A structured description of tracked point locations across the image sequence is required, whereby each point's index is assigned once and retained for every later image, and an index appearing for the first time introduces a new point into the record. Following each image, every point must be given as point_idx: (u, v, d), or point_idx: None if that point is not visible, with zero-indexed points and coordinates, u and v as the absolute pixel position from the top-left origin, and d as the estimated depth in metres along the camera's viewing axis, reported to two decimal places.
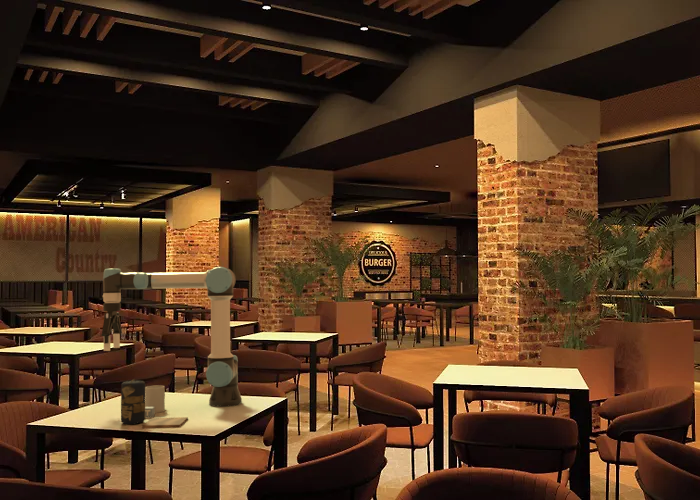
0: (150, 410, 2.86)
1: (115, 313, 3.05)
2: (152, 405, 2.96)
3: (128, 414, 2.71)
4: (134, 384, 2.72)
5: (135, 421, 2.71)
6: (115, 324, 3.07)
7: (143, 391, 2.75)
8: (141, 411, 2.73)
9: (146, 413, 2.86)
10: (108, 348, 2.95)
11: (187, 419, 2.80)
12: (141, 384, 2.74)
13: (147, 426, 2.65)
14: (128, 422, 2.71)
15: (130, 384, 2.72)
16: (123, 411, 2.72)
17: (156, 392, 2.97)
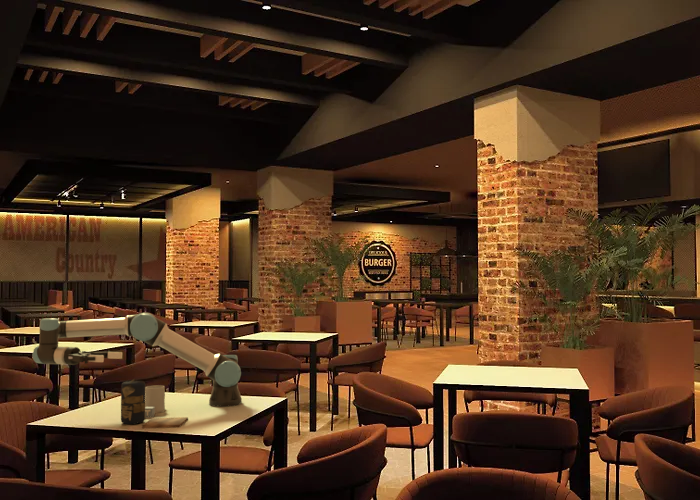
0: (150, 410, 2.86)
1: (81, 353, 2.84)
2: (152, 405, 2.96)
3: (128, 414, 2.71)
4: (134, 384, 2.72)
5: (135, 421, 2.71)
6: (94, 354, 2.85)
7: (143, 391, 2.75)
8: (141, 411, 2.73)
9: (146, 413, 2.86)
10: (100, 357, 2.72)
11: (187, 419, 2.80)
12: (141, 384, 2.74)
13: (147, 426, 2.65)
14: (128, 422, 2.71)
15: (130, 384, 2.72)
16: (123, 411, 2.72)
17: (156, 392, 2.97)
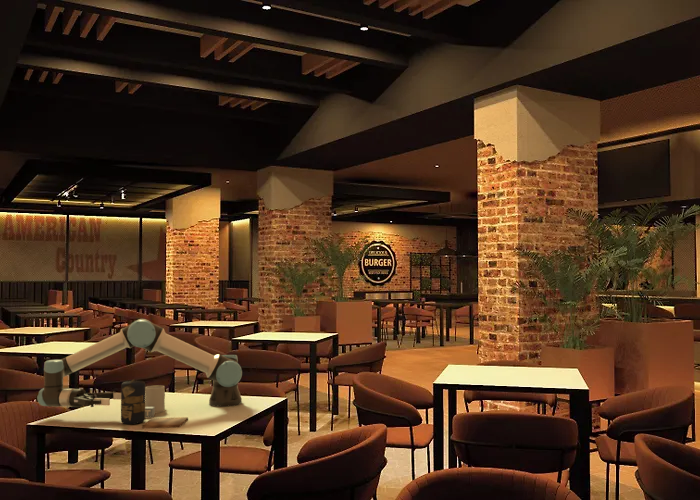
0: (150, 410, 2.86)
1: (86, 394, 2.82)
2: (152, 405, 2.96)
3: (128, 414, 2.71)
4: (134, 384, 2.72)
5: (135, 421, 2.71)
6: (100, 395, 2.83)
7: (143, 391, 2.75)
8: (141, 411, 2.73)
9: (146, 413, 2.86)
10: (106, 400, 2.70)
11: (187, 419, 2.80)
12: (141, 384, 2.74)
13: (147, 426, 2.65)
14: (128, 422, 2.71)
15: (130, 384, 2.72)
16: (123, 411, 2.72)
17: (156, 392, 2.97)
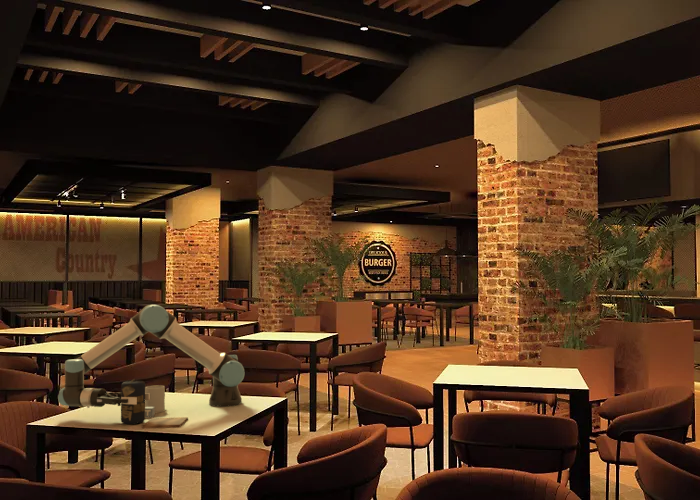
0: (150, 410, 2.86)
1: None
2: (152, 405, 2.96)
3: (128, 414, 2.71)
4: (134, 384, 2.72)
5: (135, 421, 2.71)
6: None
7: (143, 391, 2.75)
8: (141, 411, 2.73)
9: (146, 413, 2.86)
10: (133, 399, 2.70)
11: (187, 419, 2.80)
12: (141, 384, 2.74)
13: (147, 426, 2.65)
14: (128, 422, 2.71)
15: (130, 384, 2.72)
16: (123, 411, 2.72)
17: (156, 392, 2.97)
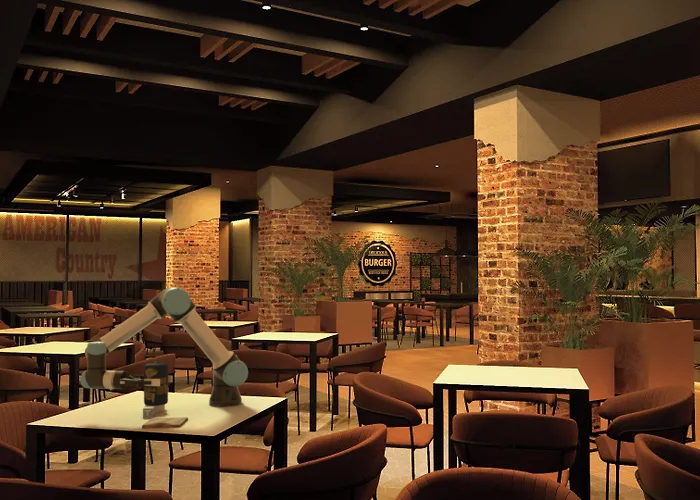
0: (150, 410, 2.86)
1: None
2: None
3: (151, 396, 2.69)
4: (157, 366, 2.70)
5: (158, 403, 2.69)
6: (143, 378, 2.78)
7: (166, 373, 2.73)
8: (164, 393, 2.71)
9: (146, 413, 2.86)
10: (156, 380, 2.68)
11: (187, 419, 2.80)
12: (164, 366, 2.72)
13: (147, 426, 2.65)
14: (151, 404, 2.69)
15: (153, 366, 2.70)
16: (146, 393, 2.70)
17: None
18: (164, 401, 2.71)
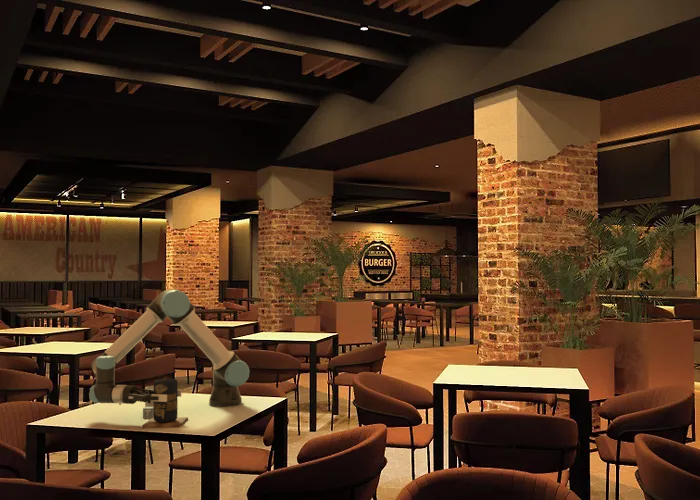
0: (150, 410, 2.86)
1: None
2: (152, 405, 2.96)
3: (161, 412, 2.68)
4: (167, 382, 2.70)
5: (168, 419, 2.69)
6: (153, 392, 2.78)
7: (176, 389, 2.73)
8: (174, 409, 2.71)
9: (146, 413, 2.86)
10: (163, 396, 2.66)
11: (187, 419, 2.80)
12: (174, 382, 2.72)
13: (147, 426, 2.65)
14: (161, 420, 2.68)
15: (163, 382, 2.69)
16: (156, 409, 2.69)
17: None
18: (174, 417, 2.71)
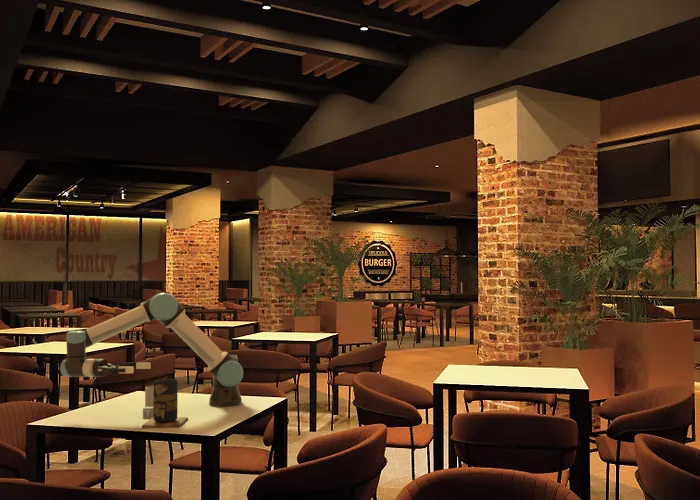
0: (150, 410, 2.86)
1: None
2: (152, 405, 2.96)
3: (161, 412, 2.68)
4: (167, 382, 2.70)
5: (168, 419, 2.69)
6: (123, 365, 2.84)
7: (176, 389, 2.72)
8: (174, 409, 2.71)
9: (146, 413, 2.86)
10: (130, 368, 2.71)
11: (187, 419, 2.80)
12: (174, 382, 2.72)
13: (147, 426, 2.65)
14: (161, 420, 2.68)
15: (163, 382, 2.69)
16: (156, 409, 2.69)
17: None
18: (174, 417, 2.71)
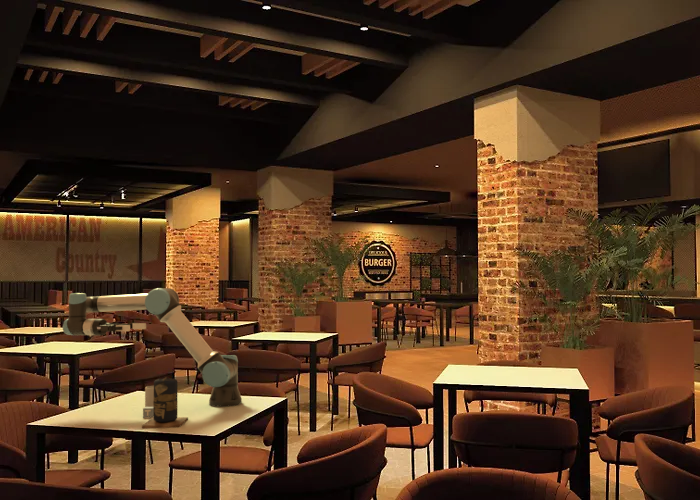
0: (150, 410, 2.86)
1: None
2: (152, 405, 2.96)
3: (161, 412, 2.68)
4: (167, 382, 2.70)
5: (168, 419, 2.69)
6: None
7: (176, 389, 2.73)
8: (174, 409, 2.71)
9: (146, 413, 2.86)
10: (127, 326, 2.94)
11: (187, 419, 2.80)
12: (174, 382, 2.72)
13: (147, 426, 2.65)
14: (161, 420, 2.68)
15: (163, 382, 2.69)
16: (156, 409, 2.69)
17: None
18: (174, 417, 2.71)
